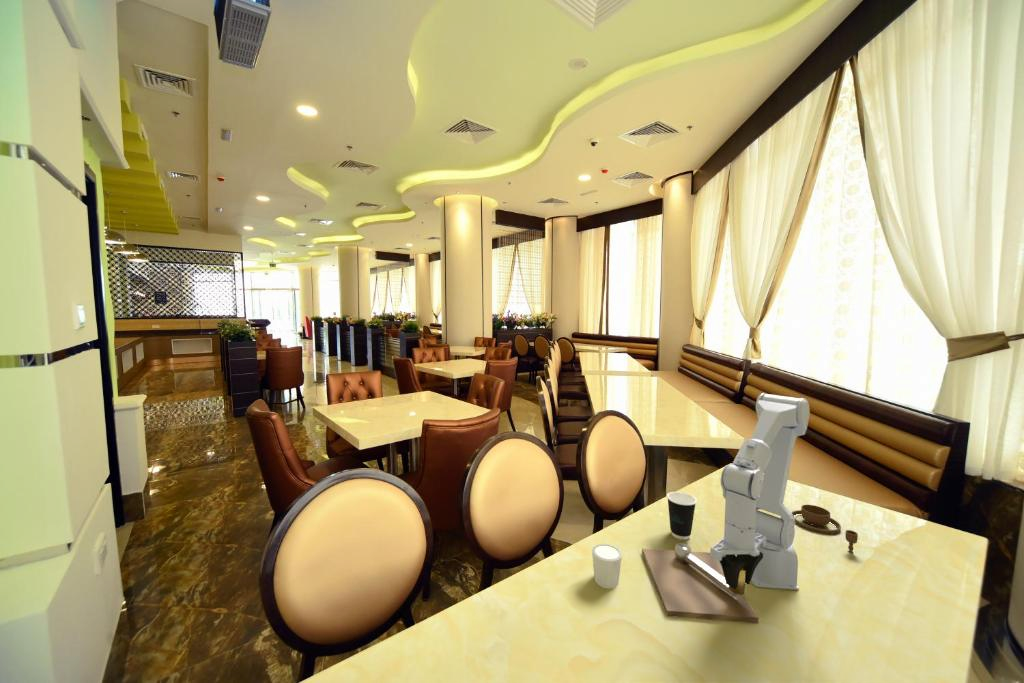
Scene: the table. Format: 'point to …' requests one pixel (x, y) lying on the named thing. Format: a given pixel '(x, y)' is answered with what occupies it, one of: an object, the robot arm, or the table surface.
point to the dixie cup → (681, 513)
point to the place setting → (823, 522)
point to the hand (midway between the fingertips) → (737, 583)
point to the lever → (709, 570)
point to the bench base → (694, 589)
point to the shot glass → (606, 565)
